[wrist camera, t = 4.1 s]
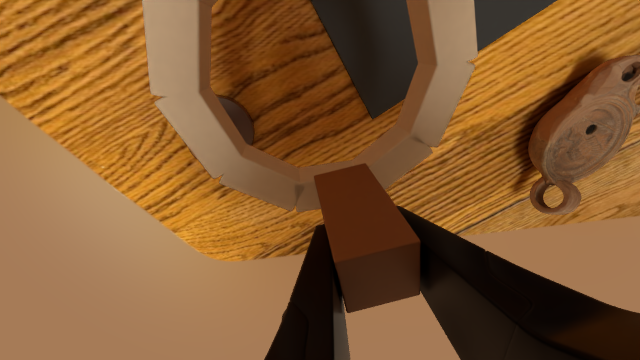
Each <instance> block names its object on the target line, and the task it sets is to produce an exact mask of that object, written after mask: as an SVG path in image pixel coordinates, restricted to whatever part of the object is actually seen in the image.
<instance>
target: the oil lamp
mask: <svg viewBox="0 0 640 360" xmlns="http://www.w3.org/2000/svg"><path fill="white" fill-rule="evenodd" d="M639 85H640V56H639V55H632V56H623V57H619V58H615V59H611V60H608V61H606V62H604V63H602V64H600V65H599V66H597V67H596V68H595V69H594V70H592V71H591V72H590V73H589V74H588V75H587V76H586V77H585V78H584V79H583V80H582V81H581V82H580V83H578V84H577V85H576V86H575V87H574V88H573V89H572V90H571V91H570V92H569V93H568V94H567V95H566V96H565V97H564V98H563V99H562V100H561V101H560V102H558V103H557V104H556V105H555V106H554V107H553V108H551V109H550V110H549V111H548V112H547V113H546V114H545V115H544V116H543V117H542V118H541V119H540V120H539V122H538V123H537V124H536V126H535V128H534V130H533V132H532V135H531V138H530V141H529V146H528V152H529V156H530V159H531V161H532V163H533V165H534V166H535V167H536V169H537V170H538V171H539V172H541V174H542V177H541V178H540V179H539V180H538V181H537V182H535V184H534V185H533V186H532V188H531V191H530V199H531V203H532V205H533V206H534V207H535V208H536V209H537V210H539V211H540V212H542V213H546V214H555V215H563V214H568V213H570V212H573V211H574V210H575V209H576V208H577V207H578V206H579V204H580V201H581V194H580V192H579V190H578V189H577V187H576V186H574V185H573V184H572V183H573V182H576V181H578V180H581V179H584V178H586V177H588V176H590V175H591V174H593V173H594V172H595V171H597V170H598V169H600V168H601V167H603V166H604V165H605V164H606V163H607V162H608V161H609V160H610V159H611V158H612V157H613V156H614V155H615V154H616V153H617V152H618V151H619V149H620V148H621V147H622V145H623V144H624V142H625V141H626V139H627V137H628V135H629V132H630V129H631V126H632V123H633V120H634V117H635V116H636V115H637V114H639V113H640V105H636V104H635V94H636V91H637V89H638V87H639ZM549 185H556V186H558V187H559V188H560V189H561V190H562V192H563V195H564V199H563V202H562V203H561V204H560V205H559V206H558V207H555V208H550V207H548V206H547V205H546V204H545V203H544V200H543V194H544V192H545V190H546V189H547V187H548V186H549Z"/></svg>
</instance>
